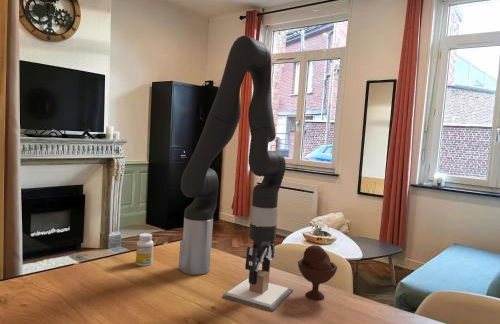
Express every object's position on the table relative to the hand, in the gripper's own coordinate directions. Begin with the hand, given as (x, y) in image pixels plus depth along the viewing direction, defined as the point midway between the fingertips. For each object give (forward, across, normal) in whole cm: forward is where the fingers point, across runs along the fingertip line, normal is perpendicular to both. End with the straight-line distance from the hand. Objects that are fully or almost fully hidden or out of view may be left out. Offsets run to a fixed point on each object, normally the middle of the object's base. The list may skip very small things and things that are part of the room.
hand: (259, 278), depth 104 cm
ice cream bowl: (+5, -8, +14) cm, 17 cm away
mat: (+5, 0, 0) cm, 5 cm away
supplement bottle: (+5, 0, -42) cm, 42 cm away
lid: (+4, 0, 0) cm, 4 cm away
